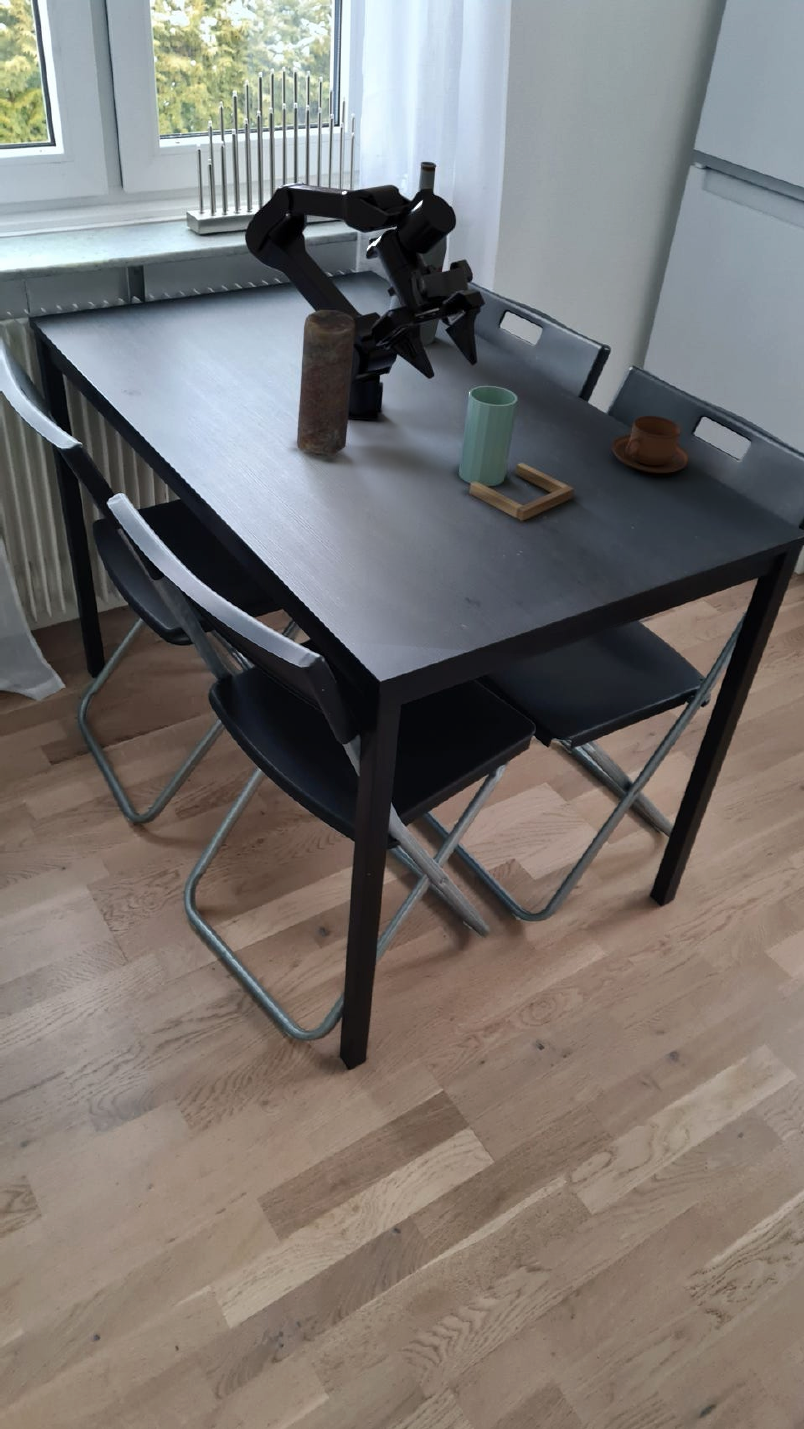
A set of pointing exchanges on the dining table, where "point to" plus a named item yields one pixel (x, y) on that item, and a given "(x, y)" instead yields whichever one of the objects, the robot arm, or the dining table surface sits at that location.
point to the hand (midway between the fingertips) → (453, 370)
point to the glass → (487, 435)
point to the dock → (522, 512)
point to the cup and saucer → (652, 446)
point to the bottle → (428, 254)
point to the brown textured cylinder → (325, 382)
